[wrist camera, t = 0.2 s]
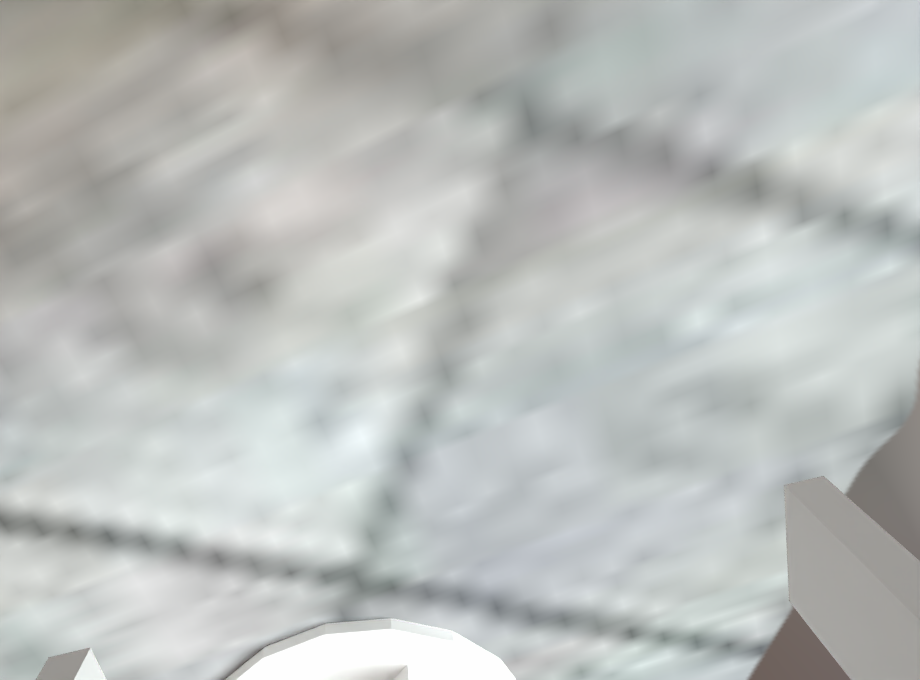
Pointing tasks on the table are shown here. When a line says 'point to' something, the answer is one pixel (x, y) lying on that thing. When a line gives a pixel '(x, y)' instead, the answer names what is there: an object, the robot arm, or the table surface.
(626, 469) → the table surface
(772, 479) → the table surface
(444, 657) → the dish
